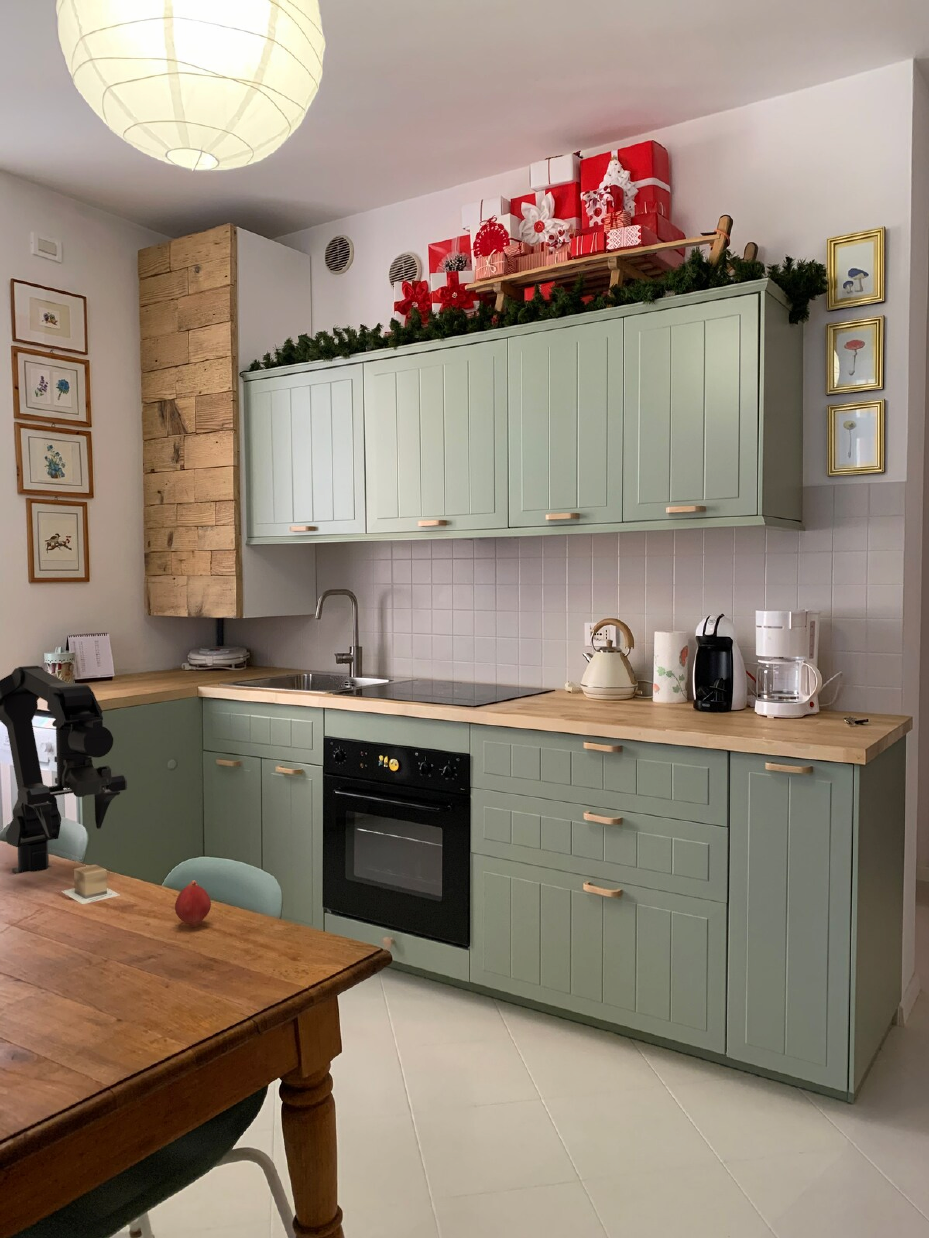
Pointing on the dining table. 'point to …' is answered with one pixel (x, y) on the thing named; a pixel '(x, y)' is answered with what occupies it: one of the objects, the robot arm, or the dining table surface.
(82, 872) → the block
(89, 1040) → the dining table surface
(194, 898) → the onion
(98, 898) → the board
